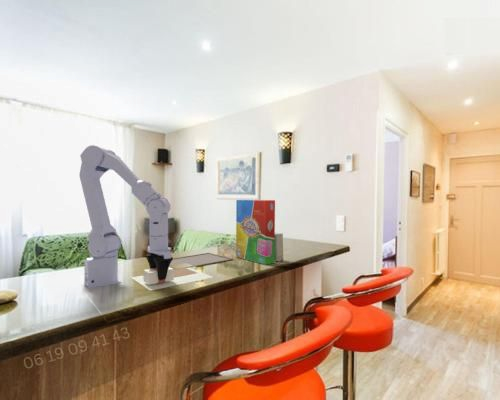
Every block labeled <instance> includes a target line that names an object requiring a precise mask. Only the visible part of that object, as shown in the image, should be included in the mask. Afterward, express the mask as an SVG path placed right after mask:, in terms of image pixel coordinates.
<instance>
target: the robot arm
mask: <svg viewBox="0 0 500 400" xmlns="http://www.w3.org/2000/svg"><path fill="white" fill-rule="evenodd" d="M79 156H80V160H81V164H80V169H79V180H80V183H81V189H82V192H83V196H84V201H85V204H86V209H87V212H88V213H87V214H88V217H89V221H90V225H91V230H90V232H89V233H88V235H87V236H88V237H87V238H88V244H87V249H88V253H89V254H90V255H91V256H90V257H87V258H85V259H84V267H83V268H84V274H83V275H84V278H83V279H84V280H83V281H84V282H83V284H84V285H86V287H87V288H88V289H93V288H98V287H105V286H110V285H116V284H121V283H122V280H120V279H119V278H118V275H119V274H118V273H119V272H118V269H119V268H118V266H119V264H118V260H119V258H118V256H119V255H118V253H119V250H120V249H121V247H122V238H121V237H120V236H119V234H118V233H117V229H116V228H115V227H114V226H113V225H112V224H111V221H110V216H109V212H108V209H107V205H106V199H105V195H104V192H103V188H102V184H101V177H102V176H103V175H104V174H105V173H107V172H108V171H110V170H111V171H113V172H115V173H116V174H117V175H118V176H119V177H120V178H121V179H123V181H124V182H126V183H127V184H128V185H129V186H130V187H131V193H132V195H134V197H136V199H137V200H138V201H139V202H141V204H142V205H143V206H144V207H145V210H146V213H147V214H148V215H149V227H148V228H149V230H148V231H149V235H148V236H149V245H148V246H147V253H148V254H145V255H144V256H145V258H146V260H147V262H148V264H149V269H152V268H157V274H158V279H159V280H163V279H166V276H167V272H168V268H169V265H170V263H171V261H172V260H173V258H174V257H173V256H172V247H169V212H170V211H171V203H170V202H169V200H168V199H167V198H164V197H162V193H158V192H157V191H156V190H155V188H153V185H152V183H151V182H149V181H147V180H140V179H139V178H138V177H137V175H136V174H135V173H134V172H133V171H132V170H131V169H130V168H129V167H128V165H127V164H126V163H125V162H124V161H123V160H122V158H121V157H120V156H119V155H117V154H116V153H115V152H114V150H111V149H106V148H102V147H100V146H97V145H95V144H93V145H92V144H91V145H88V146H87V147H85V148H84V149H83V151H82V152H81V154H80V155H79ZM170 266H171V265H170Z"/></svg>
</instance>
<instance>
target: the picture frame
mask: <svg viewBox="0 0 500 400" xmlns="http://www.w3.org/2000/svg"><path fill="white" fill-rule="evenodd" d="M230 261H234V259H233V258H231V257H227V256H223V255H220V254H215V253H212V252H205V253H199V254H193V255H187V256H181V257H179V256H178V257H173V260H172V261H171V263H170V265H169V267H170V268H173V269H174V270H177V269H183V268H192V267H197V268H198V267H203V266H208V265H214V264H220V263H226V262H230ZM182 264H189V266H185V267H180V268H175V267H173V266H175V265H176V266H177V265H182Z"/></svg>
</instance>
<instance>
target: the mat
mask: <svg viewBox="0 0 500 400" xmlns="http://www.w3.org/2000/svg"><path fill="white" fill-rule="evenodd" d="M182 268H183V269H179V268H176V269H177V270H175V269H174V280H171V281H166V282H161V283H156V284H151V285H149V284H147V283H146V282H144V281H143V275H139V276H138V275H137V276H132V277H130V279H133V281H134V282H135V281H136V282H137V283H138V284H140V285H141V286H142V287H144V288H146V289H147V290H148V291H154V290H156V291H157V290H160V289H164V288H169V287H174V286H179V285H184V284H189V283H193V282H198V281H203V280H207V279H212V278H214V277H213V276H211V275H209V274H206V273H203V272H201V271H199V270H196V269H193V268H192V267H188V268H184V267H182Z"/></svg>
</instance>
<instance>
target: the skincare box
mask: <svg viewBox="0 0 500 400" xmlns="http://www.w3.org/2000/svg"><path fill="white" fill-rule="evenodd" d="M283 234H284V233H282V232H281V233H280V232H275V262H276V261H278V262H282V261H281V260H283V261H284V238H283V237H284V235H283Z"/></svg>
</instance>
